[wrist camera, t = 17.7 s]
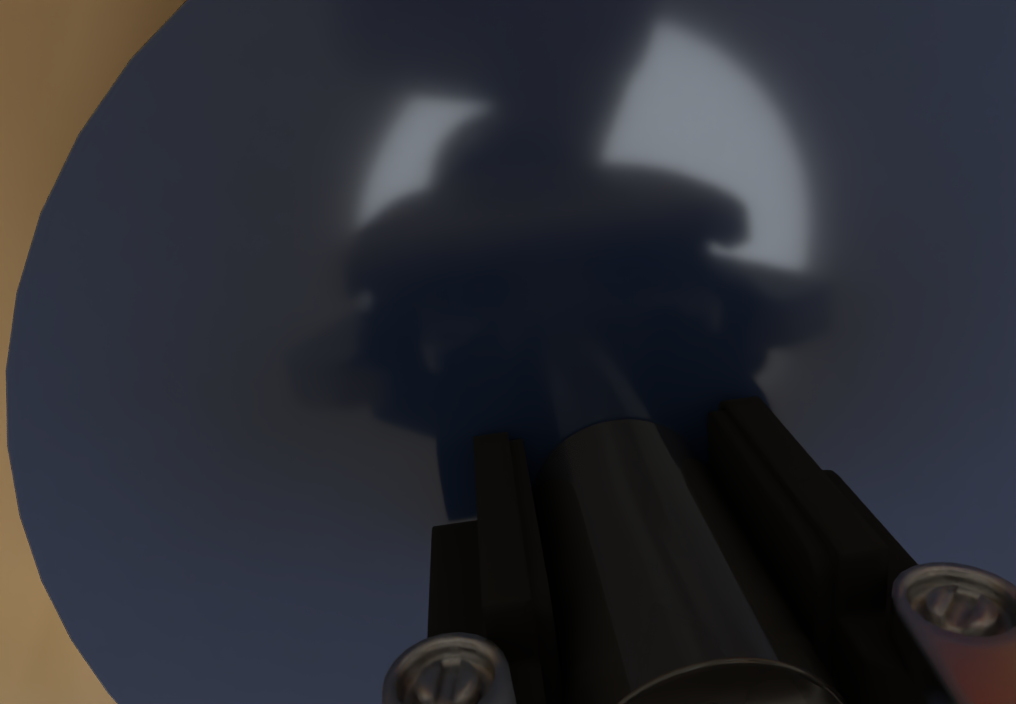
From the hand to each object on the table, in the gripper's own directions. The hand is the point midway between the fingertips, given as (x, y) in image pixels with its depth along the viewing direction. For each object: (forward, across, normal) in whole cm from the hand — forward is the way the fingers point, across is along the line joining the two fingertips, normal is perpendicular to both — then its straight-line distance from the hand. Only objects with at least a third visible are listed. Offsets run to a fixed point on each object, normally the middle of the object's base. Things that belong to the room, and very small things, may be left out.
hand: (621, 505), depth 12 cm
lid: (+1, 0, 0) cm, 1 cm away
